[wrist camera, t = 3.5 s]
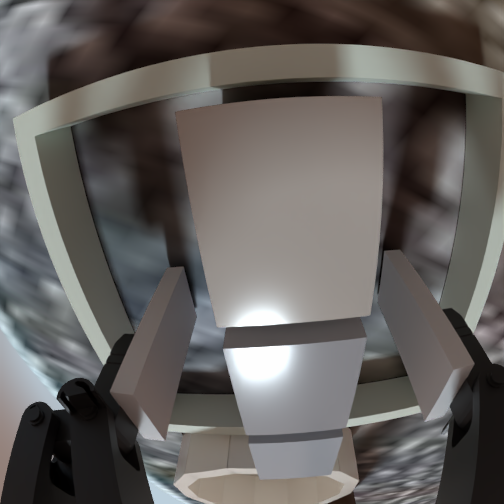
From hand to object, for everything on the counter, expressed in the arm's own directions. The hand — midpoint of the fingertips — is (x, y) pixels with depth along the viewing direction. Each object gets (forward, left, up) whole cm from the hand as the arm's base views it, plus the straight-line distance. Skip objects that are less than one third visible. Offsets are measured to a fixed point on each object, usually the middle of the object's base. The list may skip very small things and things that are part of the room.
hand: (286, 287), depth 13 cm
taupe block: (-5, 0, 0) cm, 5 cm away
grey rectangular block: (0, 0, 0) cm, 0 cm away
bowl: (+16, -2, 0) cm, 16 cm away
